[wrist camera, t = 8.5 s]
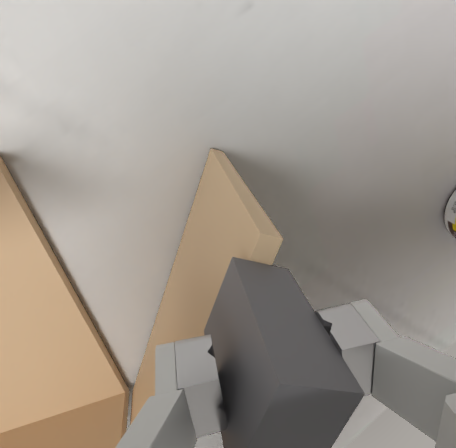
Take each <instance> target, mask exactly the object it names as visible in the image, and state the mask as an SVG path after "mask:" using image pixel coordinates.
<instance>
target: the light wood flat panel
mask: <svg viewBox="0 0 456 448" xmlns="http://www.w3.org/2000/svg"><path fill="white" fill-rule="evenodd" d="M282 241H283V238H282V236H281V235H280V233H279V232H278V230H277V229H276V227H275V226H274V225H273V223H272V222H271V220H270V219H269V217H268V216H267V214H266V213H265V212H264V210H263V209H262V207H261V206H260V204H259V203H258V201H257V200H256V198H255V197H254V196H253V194H252V193H251V191H250V190H249V188H248V187H247V185H246V184H245V183H244V181H243V180H242V178H241V177H240V175H239V174H238V172H237V171H236V170H235V168H234V167H233V165H232V164H231V162H230V161H229V159H228V158H227V157H226V155H225V154H224V152H222V151H219V150H216V149H212V148H211V149H210V152H209V155H208V158H207V161H206V164H205V167H204V171H203V174H202V177H201V180H200V183H199V186H198V189H197V192H196V195H195V199H194V202H193V205H192V208H191V211H190V214H189V217H188V220H187V223H186V226H185V230H184V233H183V236H182V239H181V242H180V245H179V248H178V251H177V254H176V258H175V261H174V264H173V267H172V270H171V273H170V276H169V279H168V282H167V285H166V289H165V292H164V295H163V298H162V301H161V304H160V307H159V310H158V313H157V317H156V320H155V323H154V326H153V329H152V332H151V335H150V338H149V341H148V344H147V348H146V351H145V354H144V357H143V360H142V363H141V366H140V369H139V372H138V376H137V379H136V382H135V385H134V388H133V393H132V408H131V422H130V425H131V423H132V422H133V420H134V419H135V417H136V416H137V414H138V413H139V411H140V410H141V408H142V407H143V405H144V404H145V402H146V401H147V399H148V398H149V397H151V396H155V349H156V345H161V344H166V343H171V342H175V341H179V340H184V339H189V338H194V337H199V336H204V335H209V334H211V339H212V344H213V349H214V354H215V359H216V365H217V370H218V375H219V380H220V386H221V391H222V396H223V402H224V407H225V412H226V418H227V423H228V427H227V429H226V430H224V431H221V434H222V440H223V446H224V448H331V447H332V445H333V444H334V442H335V441H336V439H337V438H338V436H339V434H340V433H341V431H342V430H343V428H344V426H345V425H346V423H347V422H348V420H349V418H350V417H351V415H352V414H353V412H354V410H355V409H356V407H357V406H358V404H359V402H360V401H361V399H362V398H363V396H364V394H365V393H364V391H363V390H362V388H361V386H360V385H359V383H358V382H357V380H356V378H355V377H354V375H353V373H352V372H351V370H350V369H349V367H348V365H347V364H346V362H345V360H344V359H343V357H342V356H341V355H340V353H339V351H338V350H337V348H336V346H335V345H334V343H333V342H332V340H331V338H330V336H329V334H328V333H327V331H326V330H325V328H324V326H323V325H322V324H321V322H320V320H319V319H318V317H317V315H316V314H315V312H314V310H313V308H312V307H311V305H310V304H309V302H308V300H307V299H306V297H305V296H304V294H303V292H302V291H301V289H300V287H299V286H298V284H297V283H296V281H295V279H294V278H293V276H292V274H291V273H290V271H289V270H288V269H286V268H282V267H277V266H273V265H272V264H273V262H274V259H275V257H276V255H277V252H278V250H279V248H280V246H281V243H282ZM196 439H197V438H196Z"/></svg>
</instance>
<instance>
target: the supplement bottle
mask: <svg viewBox="0 0 456 448" xmlns="http://www.w3.org/2000/svg"><path fill="white" fill-rule="evenodd" d="M444 219H445V225H446V228H447V230H448V231H449V233H450V234H451V235H452V236H453V237H455V238H456V190H455V191H454V193H453V194H452V196H451V197H450V199H449V201H448V203H447V206H446V209H445V216H444Z"/></svg>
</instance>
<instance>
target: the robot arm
mask: <svg viewBox="0 0 456 448" xmlns="http://www.w3.org/2000/svg"><path fill="white" fill-rule="evenodd" d="M315 314H316V315H317V317H318V319H319V320H320V322H321V324H322V325H323V326H324V328H325V330H326V331H327V333H328V334H329V336H330V338H331V340H332V342H333V343H334V345H335V346H336V348H337V350H338V351H339V353H340V355H341V356H342V357H343V359H344V360H345V362H346V364H347V365H348V367H349V369H350V370H351V372H352V373H353V375H354V377H355V378H356V380H357V382H358V383H359V385H360V386H361V388H362V390H363V391H364V393H365V394H364V396H365V395H370V394H372V396H373V397H374V398H376V399H377V400H378V401H380V402H381V403H383V404H384V405H385V406H387V407H388V408H390V409H391V410H392V411H394V412H395V413H397V414H398V415H399V416H401V417H402V418H404V419H405V420H407V421H408V422H409V423H411V424H412V425H413V426H415V427H416V428H418V429H419V430H420V431H422V432H423V433H425V434H426V435H427V436H429V437H430V438H432V439H433V440H435V441H436V446H435V448H456V358H454V357H452V356H450V355H447V354H445V353H443V352H441V351H438V350H436V349H434V348H431V347H429V346H427V345H425V344H422V343H420V342H418V341H415V340H413V339H411V338H408V337H406V336H404V337H400V336H399V335H398V334H397V333H396V332H395V331H394V329H393V328H392V327H391V326H390V325H389V324H388V322H387V321H386V320H385V319H384V318H383V317H382V316H381V314H380V313H379V312H378V311H377V310H376V309H375V308H374V306H373V305H372V304H371V303H370V302H369V301H368V300H366V299H362V300H358V301H354V302H350V303H348V304H342V305H338V306H334V307H329V308H325V309H321V310H316V311H315ZM227 427H228V423H227V418H226V412H225V407H224V402H223V396H222V391H221V386H220V380H219V375H218V370H217V365H216V359H215V354H214V349H213V344H212V339H211V334H209V335H204V336H199V337H194V338H189V339H184V340H179V341H175V342H171V343H166V344H161V345H156V349H155V396H151V397H149V398H148V399H147V401H146V402H145V404H144V405H143V407H142V408H141V410H140V411H139V413H138V414H137V416H136V417H135V419H134V420H133V422H132V423H131V425H130V426H129V428H128V429H127V431H126V432H125V434H124V435H123V437H122V438H121V440H120V441H119V443H118V444H117V446H116V447H115V448H194V446H195V444H196V441H197V439H196V438H199V437H203V436H206V435H210V434H213V433H217V432H220V431H224V430H226V429H227Z"/></svg>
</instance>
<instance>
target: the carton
mask: <svg viewBox="0 0 456 448" xmlns="http://www.w3.org/2000/svg"><path fill="white" fill-rule="evenodd" d="M128 403H129V389H128V387H127V385H126V383H125V382H124V380H123V378H122V376H121V374H120V372H119V371H118V369H117V367H116V365H115V363H114V362H113V360H112V358H111V356H110V354H109V352H108V351H107V349H106V347H105V345H104V343H103V342H102V340H101V338H100V336H99V334H98V332H97V331H96V329H95V327H94V325H93V323H92V322H91V320H90V318H89V316H88V314H87V312H86V311H85V309H84V307H83V305H82V303H81V302H80V300H79V298H78V296H77V294H76V292H75V291H74V289H73V287H72V285H71V283H70V282H69V280H68V278H67V276H66V274H65V272H64V271H63V269H62V267H61V265H60V263H59V262H58V260H57V258H56V256H55V254H54V252H53V251H52V249H51V247H50V245H49V243H48V242H47V240H46V238H45V236H44V234H43V232H42V231H41V229H40V227H39V225H38V223H37V222H36V220H35V218H34V216H33V214H32V212H31V211H30V209H29V207H28V205H27V203H26V202H25V200H24V198H23V196H22V194H21V192H20V191H19V189H18V187H17V185H16V183H15V182H14V180H13V178H12V176H11V174H10V172H9V171H8V169H7V167H6V165H5V163H4V162H3V160H2V158H1V156H0V448H115V447H116V446H117V444H118V443H119V441H120V440H121V438H122V437H123V435H124V434H125V432H126V428H127V415H128Z"/></svg>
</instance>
